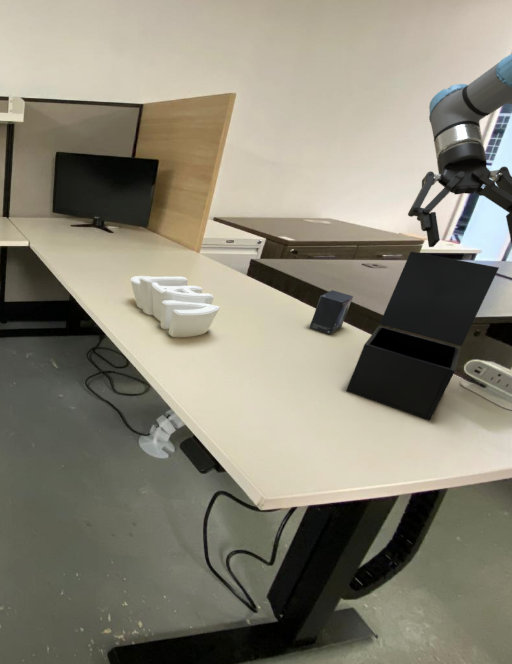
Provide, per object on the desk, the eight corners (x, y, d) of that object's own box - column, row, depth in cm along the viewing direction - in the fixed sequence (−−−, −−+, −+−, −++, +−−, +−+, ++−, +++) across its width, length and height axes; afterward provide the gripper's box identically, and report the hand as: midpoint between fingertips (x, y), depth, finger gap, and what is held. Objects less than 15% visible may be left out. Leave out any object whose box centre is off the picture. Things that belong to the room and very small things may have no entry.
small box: (331, 335, 136) (343, 302, 131) (308, 328, 140) (319, 295, 135) (342, 327, 143) (354, 295, 138) (320, 320, 147) (331, 289, 142)
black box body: (429, 421, 96) (455, 370, 91) (345, 391, 105) (364, 344, 100) (437, 393, 107) (460, 347, 102) (361, 368, 117) (378, 325, 112)
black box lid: (499, 267, 98) (498, 267, 99) (410, 251, 107) (410, 251, 108) (461, 346, 102) (461, 345, 103) (379, 323, 111) (379, 323, 112)
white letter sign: (224, 344, 124) (233, 307, 120) (166, 344, 121) (174, 306, 117) (169, 299, 155) (175, 268, 151) (122, 298, 152) (127, 267, 148)
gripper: (522, 160, 98) (542, 249, 92) (383, 170, 105) (393, 253, 99) (547, 134, 91) (570, 229, 85) (397, 147, 99) (409, 235, 92)
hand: (475, 242), depth 92 cm, fingers open, 13 cm apart
